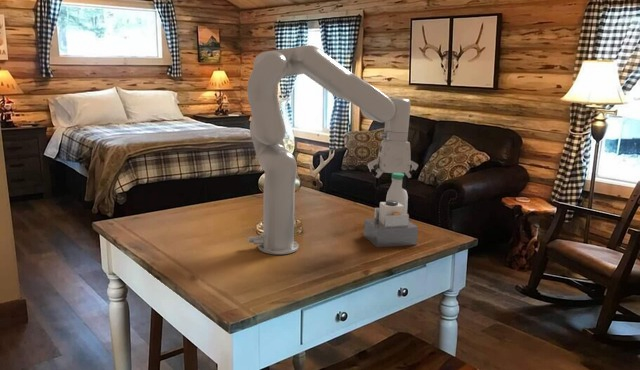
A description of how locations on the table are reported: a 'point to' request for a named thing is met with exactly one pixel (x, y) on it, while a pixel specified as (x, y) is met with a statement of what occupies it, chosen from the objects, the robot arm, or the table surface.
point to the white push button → (389, 209)
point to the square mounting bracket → (391, 230)
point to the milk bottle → (398, 191)
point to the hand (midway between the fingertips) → (390, 189)
